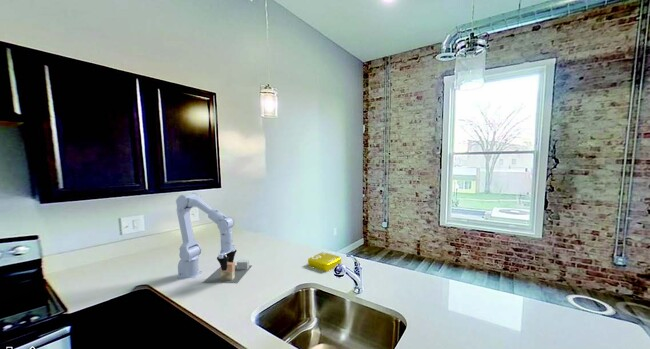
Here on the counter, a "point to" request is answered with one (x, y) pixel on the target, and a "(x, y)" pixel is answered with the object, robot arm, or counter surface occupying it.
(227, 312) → the counter surface
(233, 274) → the maple brick
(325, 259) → the element tile
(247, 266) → the grey brick
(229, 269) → the terracotta brick
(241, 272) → the charcoal mat
